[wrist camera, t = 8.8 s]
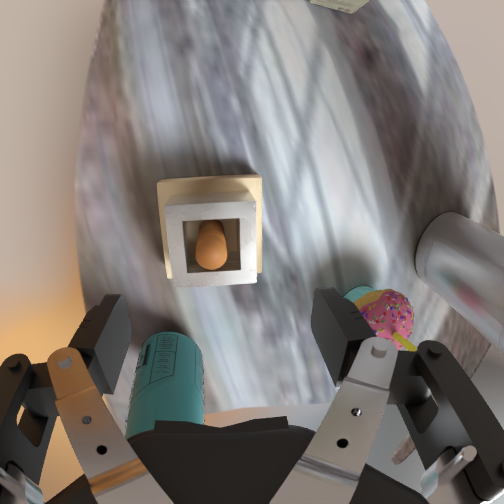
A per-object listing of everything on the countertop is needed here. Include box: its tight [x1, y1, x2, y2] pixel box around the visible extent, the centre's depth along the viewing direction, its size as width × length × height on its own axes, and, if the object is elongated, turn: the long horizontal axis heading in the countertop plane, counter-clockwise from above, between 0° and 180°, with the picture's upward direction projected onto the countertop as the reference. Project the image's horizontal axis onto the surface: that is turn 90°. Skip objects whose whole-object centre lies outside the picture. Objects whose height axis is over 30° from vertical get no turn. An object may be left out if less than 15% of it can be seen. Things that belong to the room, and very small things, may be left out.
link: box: [164, 191, 257, 288], centre depth 22 cm, size 6×6×4 cm
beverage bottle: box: [125, 332, 205, 439], centre depth 20 cm, size 6×7×20 cm
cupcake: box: [343, 286, 417, 351], centre depth 25 cm, size 9×8×12 cm
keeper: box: [157, 174, 262, 278], centre depth 22 cm, size 8×8×7 cm
